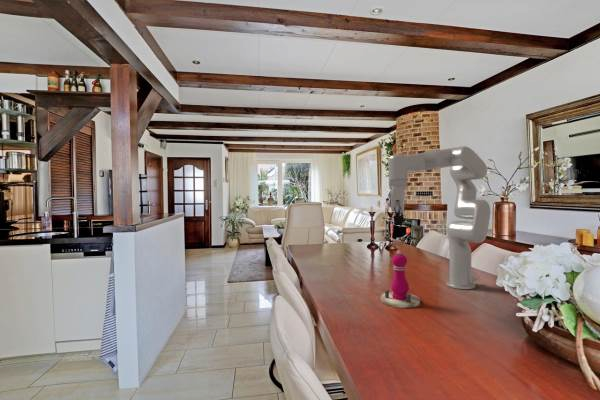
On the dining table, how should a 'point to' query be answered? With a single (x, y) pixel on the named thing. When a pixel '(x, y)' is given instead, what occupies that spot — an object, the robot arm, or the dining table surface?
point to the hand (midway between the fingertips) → (398, 224)
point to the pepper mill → (399, 277)
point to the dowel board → (390, 301)
